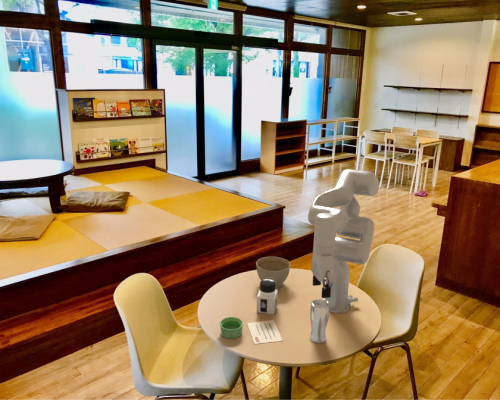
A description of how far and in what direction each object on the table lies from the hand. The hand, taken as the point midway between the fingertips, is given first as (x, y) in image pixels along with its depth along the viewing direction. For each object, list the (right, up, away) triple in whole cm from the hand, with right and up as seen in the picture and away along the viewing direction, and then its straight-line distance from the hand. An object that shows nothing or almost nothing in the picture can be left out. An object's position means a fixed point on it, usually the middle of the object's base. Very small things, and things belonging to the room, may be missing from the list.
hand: (321, 291), depth 154 cm
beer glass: (0, -20, +6) cm, 20 cm away
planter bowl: (-15, -7, +47) cm, 50 cm away
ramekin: (-33, -18, +9) cm, 39 cm away
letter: (-20, -18, +9) cm, 29 cm away
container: (-19, -13, +26) cm, 34 cm away
